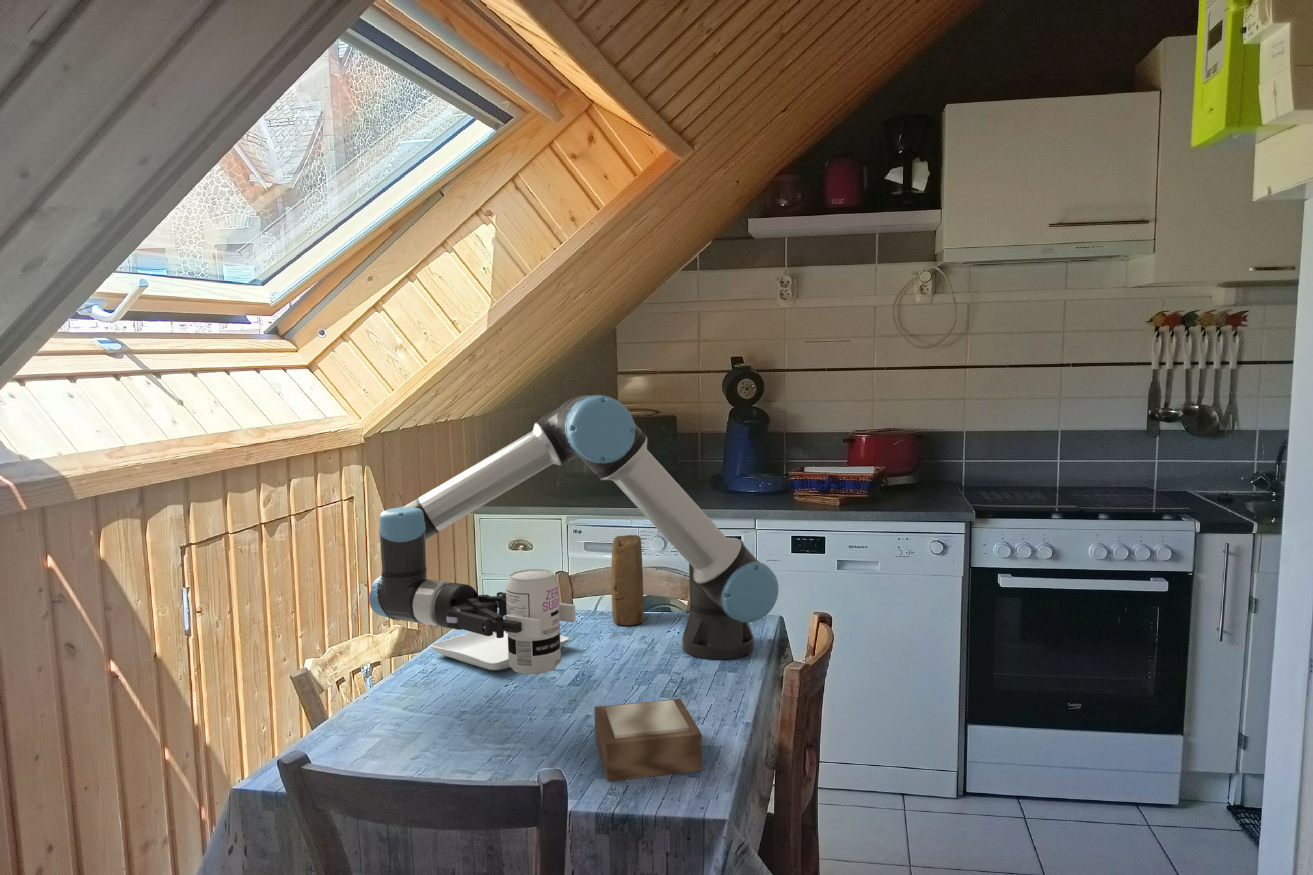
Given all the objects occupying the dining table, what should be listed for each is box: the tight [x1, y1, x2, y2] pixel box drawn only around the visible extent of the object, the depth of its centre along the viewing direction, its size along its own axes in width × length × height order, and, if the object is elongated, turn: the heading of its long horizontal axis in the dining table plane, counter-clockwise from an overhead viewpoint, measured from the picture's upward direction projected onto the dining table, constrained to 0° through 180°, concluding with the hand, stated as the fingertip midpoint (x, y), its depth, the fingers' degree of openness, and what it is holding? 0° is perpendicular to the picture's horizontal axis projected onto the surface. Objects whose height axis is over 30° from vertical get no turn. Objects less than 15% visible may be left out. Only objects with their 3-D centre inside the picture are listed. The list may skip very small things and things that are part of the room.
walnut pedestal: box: [593, 698, 703, 782], centre depth 130 cm, size 14×14×6 cm
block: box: [610, 534, 645, 626], centre depth 200 cm, size 11×8×20 cm
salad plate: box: [430, 631, 571, 671], centre depth 179 cm, size 21×21×3 cm
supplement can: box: [505, 568, 562, 675], centre depth 135 cm, size 8×8×15 cm
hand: (557, 620), depth 133 cm, fingers closed on supplement can, 8 cm apart
